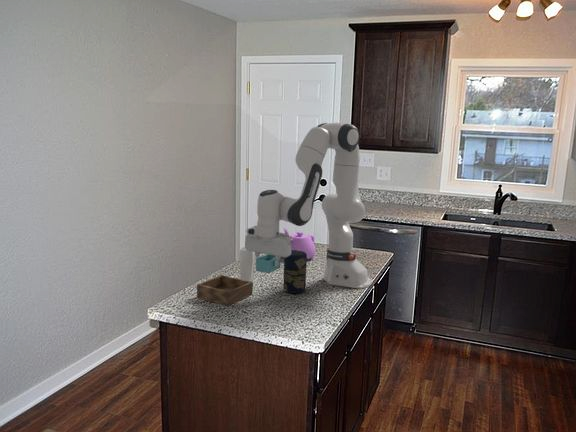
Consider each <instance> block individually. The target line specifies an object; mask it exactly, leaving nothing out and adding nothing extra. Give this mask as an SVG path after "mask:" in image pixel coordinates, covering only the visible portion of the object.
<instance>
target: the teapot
mask: <svg viewBox="0 0 576 432" xmlns="http://www.w3.org/2000/svg"><path fill="white" fill-rule="evenodd" d="M283 231H284V234H288V235H289V236H290V237H291V251H292V250H297V251H303V252H305V253H306V254H307V260H311V259H312V258H313V257H314V256H315V255H316V247H315V244H314V243H315V237H314V236H313V235H312V234H304V232H303V231H297V232H296V233H294V234H291V235H290V233H289V230H288V229H286V228H283ZM287 237H288V236H287Z"/></svg>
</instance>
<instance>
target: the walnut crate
mask: <svg viewBox="0 0 576 432" xmlns="http://www.w3.org/2000/svg"><path fill="white" fill-rule="evenodd" d="M253 284H254V281H246V280H242V279H240V278H237V277H233V276H229V275H224V274H221V275H217V276H216V277H213V278H210V279H208V280H205V281H203V282H201V283H198V284H197V285H196V286H197V287H196V299H200V300H204V301H209V302H212V303H215V304H219V305H223V306H226V307H227V306H228V307H232V306H233V305H235V304H236V303H239V302H240V301H241V302H242V301H243V300H244V299H247V298H248V297H251V296H253V294H254V293H253V289H254V288H253V287H254V286H253Z"/></svg>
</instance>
